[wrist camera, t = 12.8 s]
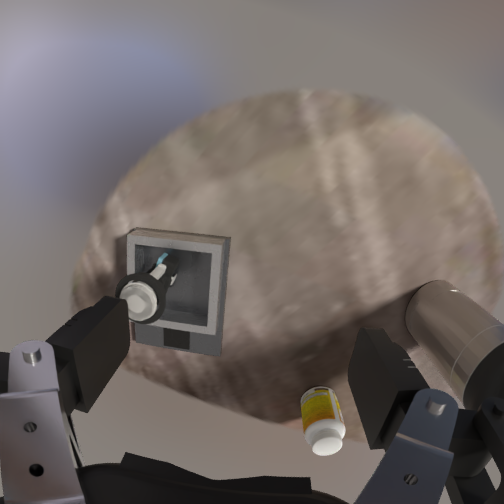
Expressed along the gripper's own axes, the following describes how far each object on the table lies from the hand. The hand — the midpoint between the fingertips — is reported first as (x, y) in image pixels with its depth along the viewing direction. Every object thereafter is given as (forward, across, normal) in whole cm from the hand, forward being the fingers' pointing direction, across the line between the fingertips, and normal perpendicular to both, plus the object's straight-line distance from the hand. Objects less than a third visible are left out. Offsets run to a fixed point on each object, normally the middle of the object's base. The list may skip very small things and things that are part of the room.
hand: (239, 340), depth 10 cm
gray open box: (+28, +9, +11) cm, 31 cm away
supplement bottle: (+28, -12, +26) cm, 40 cm away
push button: (+27, +11, +8) cm, 30 cm away
